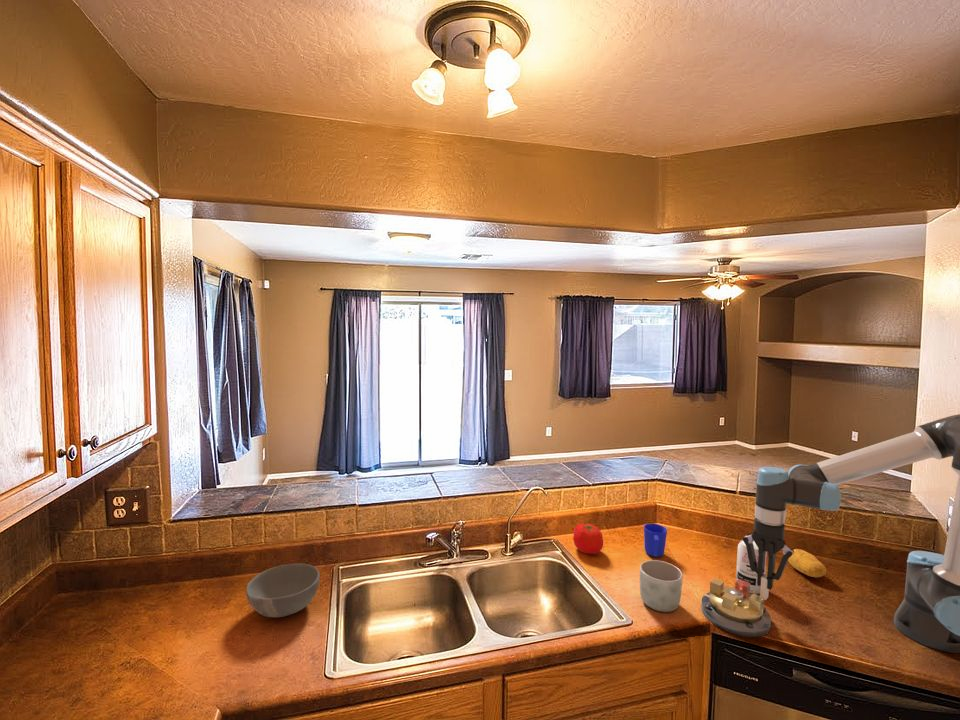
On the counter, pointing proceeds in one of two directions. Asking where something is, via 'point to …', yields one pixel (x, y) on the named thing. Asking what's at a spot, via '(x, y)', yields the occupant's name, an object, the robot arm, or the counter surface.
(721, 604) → the brass disc with cubes
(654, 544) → the mug
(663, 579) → the planter
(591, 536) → the tomato
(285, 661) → the counter surface
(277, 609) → the bowl
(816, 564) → the potato
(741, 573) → the supplement can
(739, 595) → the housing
